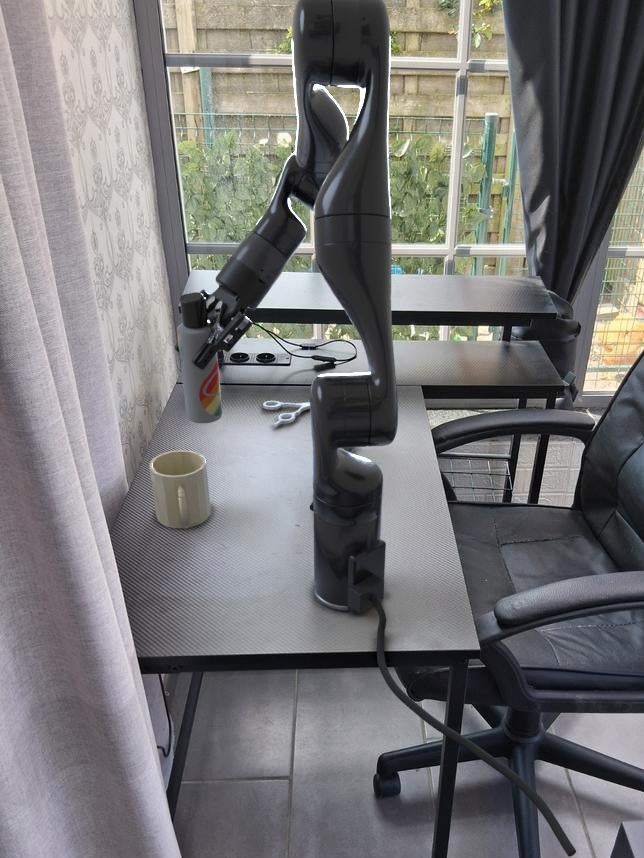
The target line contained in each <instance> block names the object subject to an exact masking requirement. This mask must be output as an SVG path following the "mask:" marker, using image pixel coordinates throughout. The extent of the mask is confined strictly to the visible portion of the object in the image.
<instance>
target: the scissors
mask: <svg viewBox="0 0 644 858" xmlns="http://www.w3.org/2000/svg"><path fill="white" fill-rule="evenodd" d="M286 407H287V408H288V407H289V408H298V410H296V411H293V412H283V413H281V414H280V415H278V417H277V419H278V420H277V421H276V422H274V423H273V427H274V428H278V427H279V426H280V425H282V424H290V423H293V422H294V421H295V420H296V416H298V415H300V414H301V413H302V412H304V411H306V410H310V401H307V402H299V403H298V402H296V403H294V402H281V401H278V400H267V401H264V402H263V403H262V408H263V409H264V410H269V411H273V410H275V411H276V410H279V409H280V408H286ZM285 418H287V419H285Z"/></svg>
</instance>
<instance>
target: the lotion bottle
mask: <svg viewBox="0 0 644 858" xmlns="http://www.w3.org/2000/svg"><path fill="white" fill-rule="evenodd" d="M179 304H180V305H179V306H180V313H181V322H182V323H180V324H179V325H178V326H177V327H176V335H177V342H178V345H179V352H178V353H179V363H180V369H181V380H182V386H183V388H182V389H183V396H184V404H185V405H184V406H185V413H186V417H187V419H188V420H189V421H190V422H192V423H195V424H210V423H211V424H212V423H215V422H217V421H218V420H220V419H221V418H222V416H223V407H222V406H223V403H222V394H221V393H222V392H221V382H220V371H219V370H220V369H219V359H218V358H219V357H218V352H217V353H216V354H215V355H214V357H213V358H212V360H211V361H210V362H209V364H208V365H207V366H206V367H205V369H203V370H201V369H200V368H198V367H197V366H195V365H194V364H193V363H192V359H193V358H194V356H195V355H196V354H197V352H198V351H199V350H200V348H201V347H202V345H203V344H204V343H207V339H208V336H209V334H210V332H211V329H210V324H211V323H209V322H208V316H207V305H206V298H205V297H203V294H202V293H200V292H196V291H195V292H189V293H185V294H182V295H181V296H180V297H179ZM207 344H208V343H207Z"/></svg>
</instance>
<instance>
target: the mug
mask: <svg viewBox="0 0 644 858" xmlns="http://www.w3.org/2000/svg"><path fill="white" fill-rule="evenodd" d="M148 465H149V474H150V481H151V487H152V488H151V489H152V495H153V501H154V502H153V503H154V509H155V516H156V520H157V521H158V523H160V525H162V526H165V527H168V528H171V529H188V528H193V527H196V526H198V525H201V524H203V523H204V522H205V521H207V520H208V519H209V518H210V516H211V500H210V490H209V479H208V470H207V461H206V457H204V456H203V454H201V453H200V452H196V451H193V450H186V449H179V450H169V451H166V452H163V453H160V454H158V455H157V456H154V457H153V458H152V459H151V461H150V462H149V464H148Z"/></svg>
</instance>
